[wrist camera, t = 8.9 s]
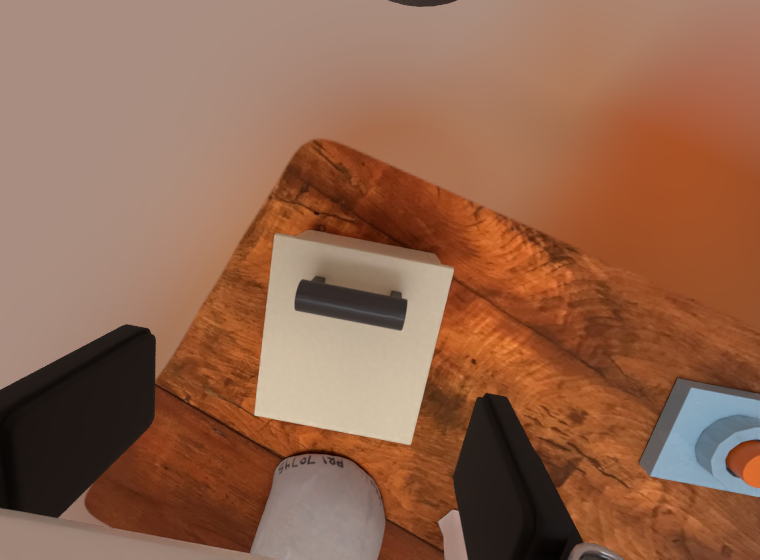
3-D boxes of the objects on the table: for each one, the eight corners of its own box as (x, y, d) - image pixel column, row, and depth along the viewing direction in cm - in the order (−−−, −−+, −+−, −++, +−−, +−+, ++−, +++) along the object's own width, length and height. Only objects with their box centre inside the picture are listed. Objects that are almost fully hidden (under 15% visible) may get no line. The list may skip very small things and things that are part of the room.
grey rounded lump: (294, 497, 48) (313, 650, 38) (207, 491, 38) (201, 697, 28) (386, 447, 45) (433, 599, 35) (318, 427, 35) (355, 633, 25)
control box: (677, 377, 34) (708, 398, 31) (799, 401, 34) (844, 425, 31) (638, 463, 36) (663, 491, 33) (752, 485, 37) (788, 515, 33)
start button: (735, 436, 32) (754, 450, 30) (774, 443, 32) (796, 458, 30) (718, 468, 33) (735, 484, 31) (756, 476, 33) (776, 491, 31)
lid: (278, 232, 23) (246, 243, 18) (452, 266, 23) (467, 286, 18) (257, 409, 27) (227, 458, 22) (410, 438, 27) (413, 493, 22)
